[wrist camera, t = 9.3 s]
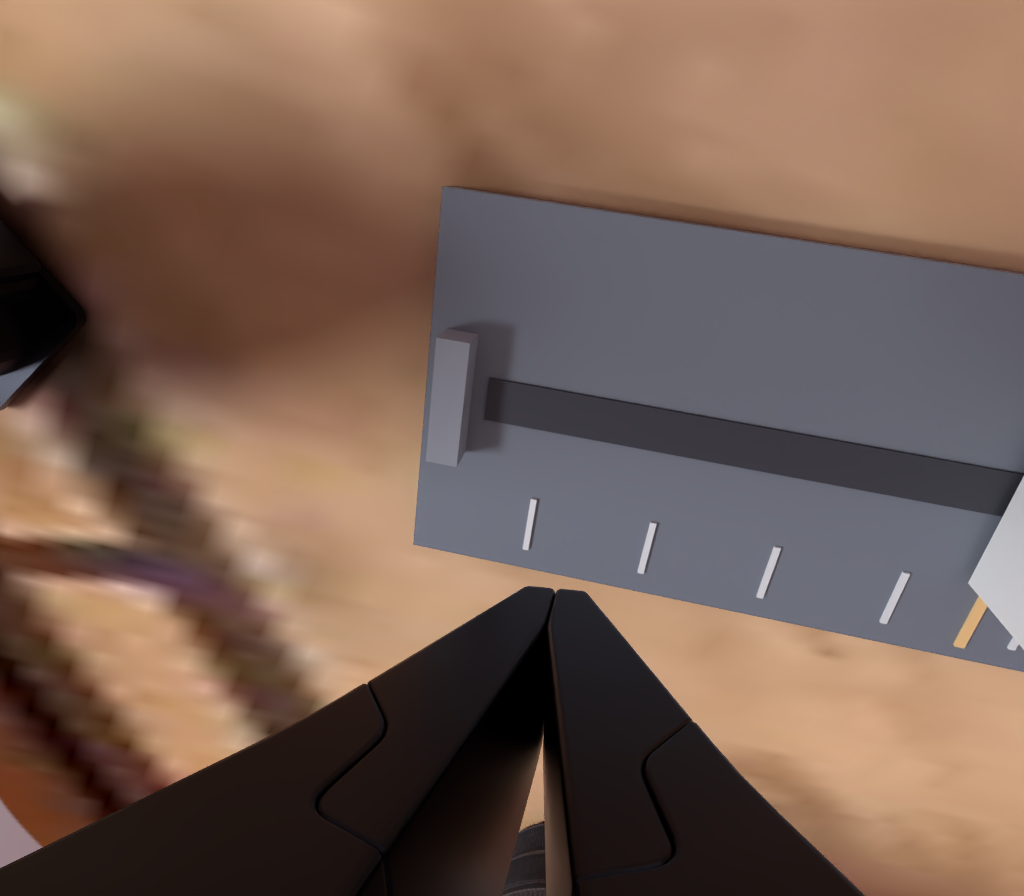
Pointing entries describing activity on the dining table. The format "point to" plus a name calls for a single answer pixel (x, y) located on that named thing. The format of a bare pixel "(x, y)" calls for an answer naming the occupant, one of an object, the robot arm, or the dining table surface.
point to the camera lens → (528, 864)
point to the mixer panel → (724, 417)
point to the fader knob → (1005, 569)
